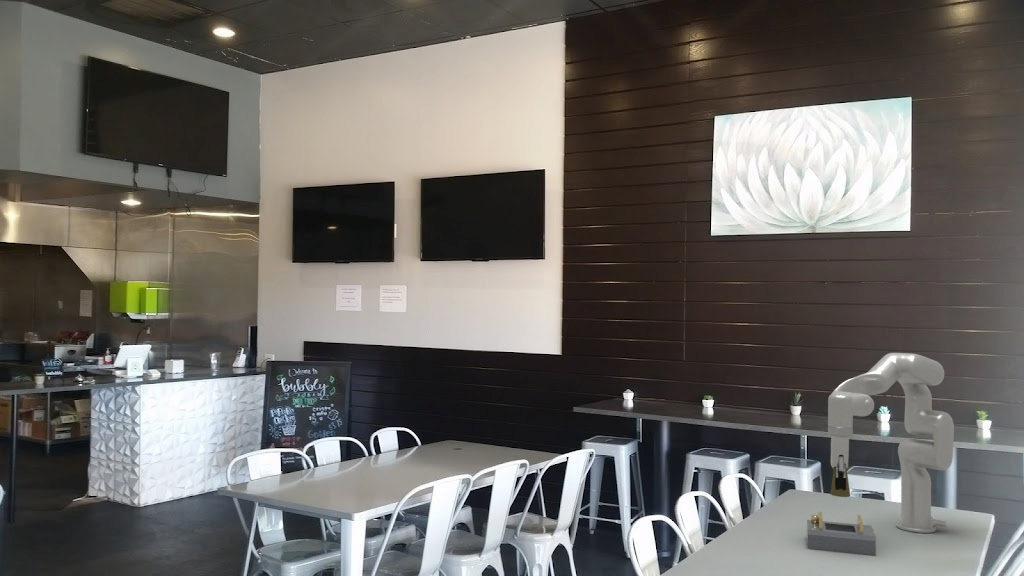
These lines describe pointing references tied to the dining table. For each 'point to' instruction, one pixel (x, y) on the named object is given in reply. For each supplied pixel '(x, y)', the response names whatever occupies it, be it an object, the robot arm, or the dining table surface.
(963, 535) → the dining table surface
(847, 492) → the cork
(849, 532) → the grey slotted box
